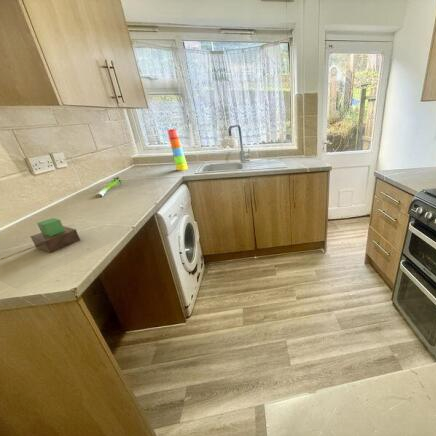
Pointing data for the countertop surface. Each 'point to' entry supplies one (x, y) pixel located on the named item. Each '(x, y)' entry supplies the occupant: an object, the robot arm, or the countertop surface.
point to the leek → (109, 186)
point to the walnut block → (55, 240)
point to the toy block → (51, 227)
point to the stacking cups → (177, 150)
